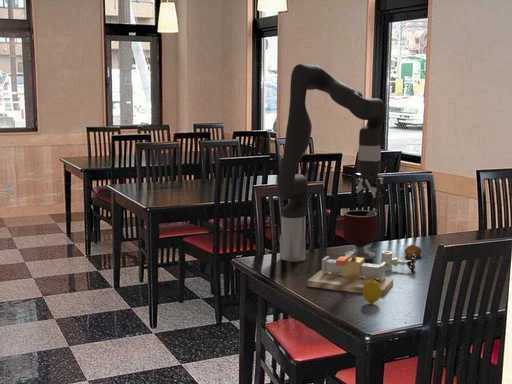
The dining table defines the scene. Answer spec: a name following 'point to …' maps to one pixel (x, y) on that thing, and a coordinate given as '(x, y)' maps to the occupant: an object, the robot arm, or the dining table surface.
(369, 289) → the lemon
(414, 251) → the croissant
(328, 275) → the valve board
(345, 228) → the mate gourd
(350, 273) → the pipe valve
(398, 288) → the dining table surface
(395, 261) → the valve
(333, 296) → the dining table surface
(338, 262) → the valve lever
